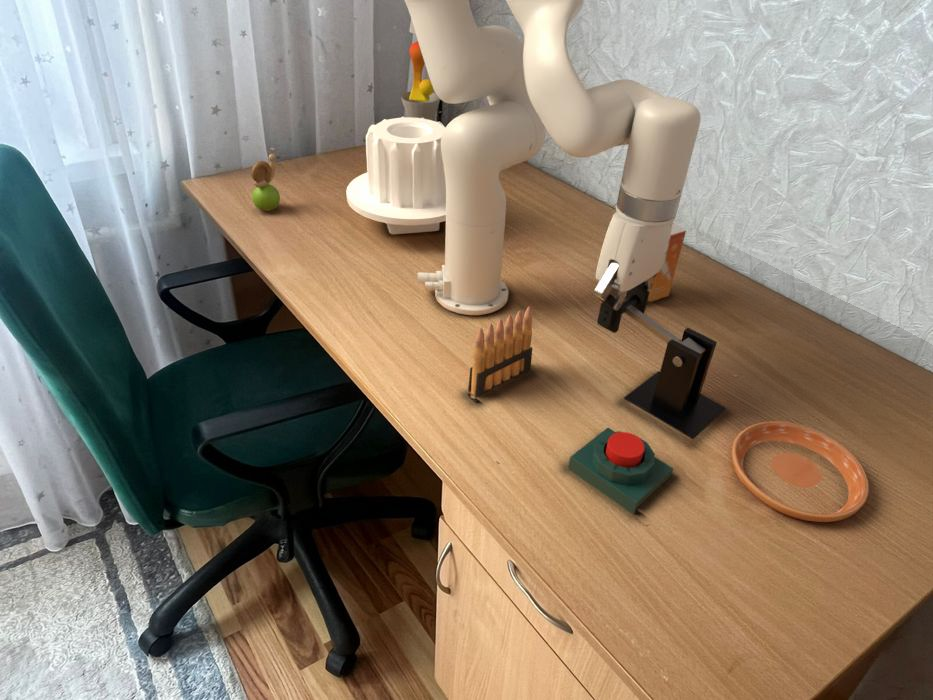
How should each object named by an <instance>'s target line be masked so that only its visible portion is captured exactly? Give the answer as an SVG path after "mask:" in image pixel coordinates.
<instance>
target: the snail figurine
mask: <svg viewBox="0 0 933 700" xmlns="http://www.w3.org/2000/svg"><path fill="white" fill-rule="evenodd" d="M269 150H270V151H271V152H273V153H270V154H269V155H268V161H269V162H267V161H264V160H258V161H257V162H255V163H254V164H253V165H252V167H251V178H252V179H253V181H254V183H253V185H254V186H255V187H254V189H253V191H252V195H251V199H252V202H253V204H254V206H255V207H256V208H257V209H259V210H261V211H264V212H270V211H273V210H275V209H276V208H278V206H279V204H280V201H281V195H280V192H279V190H278V189H277V188H276V187H275V186H274V185H272V184H270V183H271V182H272V181H273V179H274V177H275V172H276V155H275V151H276V148H274V147H269Z"/></svg>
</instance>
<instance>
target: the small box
mask: <svg viewBox="0 0 933 700" xmlns="http://www.w3.org/2000/svg"><path fill="white" fill-rule="evenodd" d="M686 233H687V230H686V229H685V228H683V227H681V226H679V225H678V224H675V223H674V222H673V225H672V231H671V236H670V241H669V246H668V250H667V254H666V257H665V261H664V263H663V266H662V268H661V270H660V271H659V272H658V273H657V275H656V276H655V277H654V279H653V287H652V288H651V290H647V291H649V292H650V293H649V297H648V301H647V302H650V303H652V302H656V301H659V300H661V299H664V298H667V297H669V295H670V292H671V288H672V284H673V280H674V277H675V274H676V270H677V266H678V262H679V259H680V255H681V251H682V247H683V243H684V240H685V237H686ZM614 282H616V283H618V281H617V279H616V280H615V281H614ZM625 297H626V295H625Z"/></svg>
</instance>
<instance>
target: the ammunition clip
mask: <svg viewBox="0 0 933 700" xmlns="http://www.w3.org/2000/svg"><path fill="white" fill-rule="evenodd" d="M532 323H533V312H532V307H531V306H530V305H528V306H527V308H526V310H525V313H524V316H523V314H522V311H521V310H518V312H517V313H516V316H515V319H514V320H513V316H512V315H511V314H509V315H508V317H507V318H506V321H505V324H504V322H503V319H501V318H500V319H498V321H497V324H496V327H495V328H494V325H493V323H489V325H488V327H487V328H486V331H485V332H486V334H485V333H484V330H483V328H482V327H480V328H479V330H478V331H477V333H476V338H475V345H474V350H473V354H472V355H473V356H472V366H471V367H470V368H469V377H468V388H467V397H468V398H469V399H471V400H472V401H473V402H474V403H479V402H480V400H479V399H478V397H481V396H482V395H484V394H486V393H488V392H491V391H492V390H494V389H496V388H497V387H500V386H501V385H503V384H505V383H508V382H509V381H511V380H514V379H516V378H517V377H519V376H521V375H523V374H525V373H526V372H528V371H530V370H531V368H532V360H533V359H532V358H533V347H532V346H531V345H532V339H533V337H532V336H533V328H532V327H533V324H532ZM504 325H505V326H504ZM473 395H474V396H473Z"/></svg>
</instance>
